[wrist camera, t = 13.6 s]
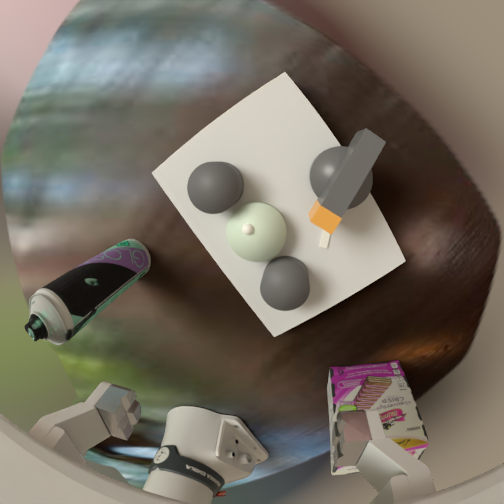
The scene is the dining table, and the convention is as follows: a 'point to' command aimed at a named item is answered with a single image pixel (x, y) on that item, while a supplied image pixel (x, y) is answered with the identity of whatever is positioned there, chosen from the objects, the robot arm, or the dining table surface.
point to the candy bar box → (377, 404)
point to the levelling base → (286, 184)
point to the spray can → (85, 291)
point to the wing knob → (343, 178)
